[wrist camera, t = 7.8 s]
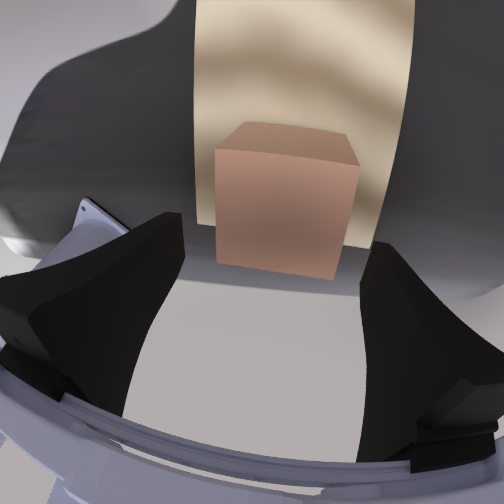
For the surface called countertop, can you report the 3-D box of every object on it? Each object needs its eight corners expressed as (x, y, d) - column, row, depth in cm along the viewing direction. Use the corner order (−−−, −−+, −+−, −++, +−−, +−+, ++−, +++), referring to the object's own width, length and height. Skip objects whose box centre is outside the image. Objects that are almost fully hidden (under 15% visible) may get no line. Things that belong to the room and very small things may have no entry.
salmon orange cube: (330, 221, 18) (333, 280, 14) (241, 209, 19) (216, 262, 14) (345, 134, 15) (360, 166, 10) (244, 121, 15) (214, 148, 11)
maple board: (367, 240, 20) (369, 248, 19) (201, 216, 21) (197, 223, 21) (409, -40, 8) (414, -44, 7) (207, -59, 10) (202, -64, 9)
